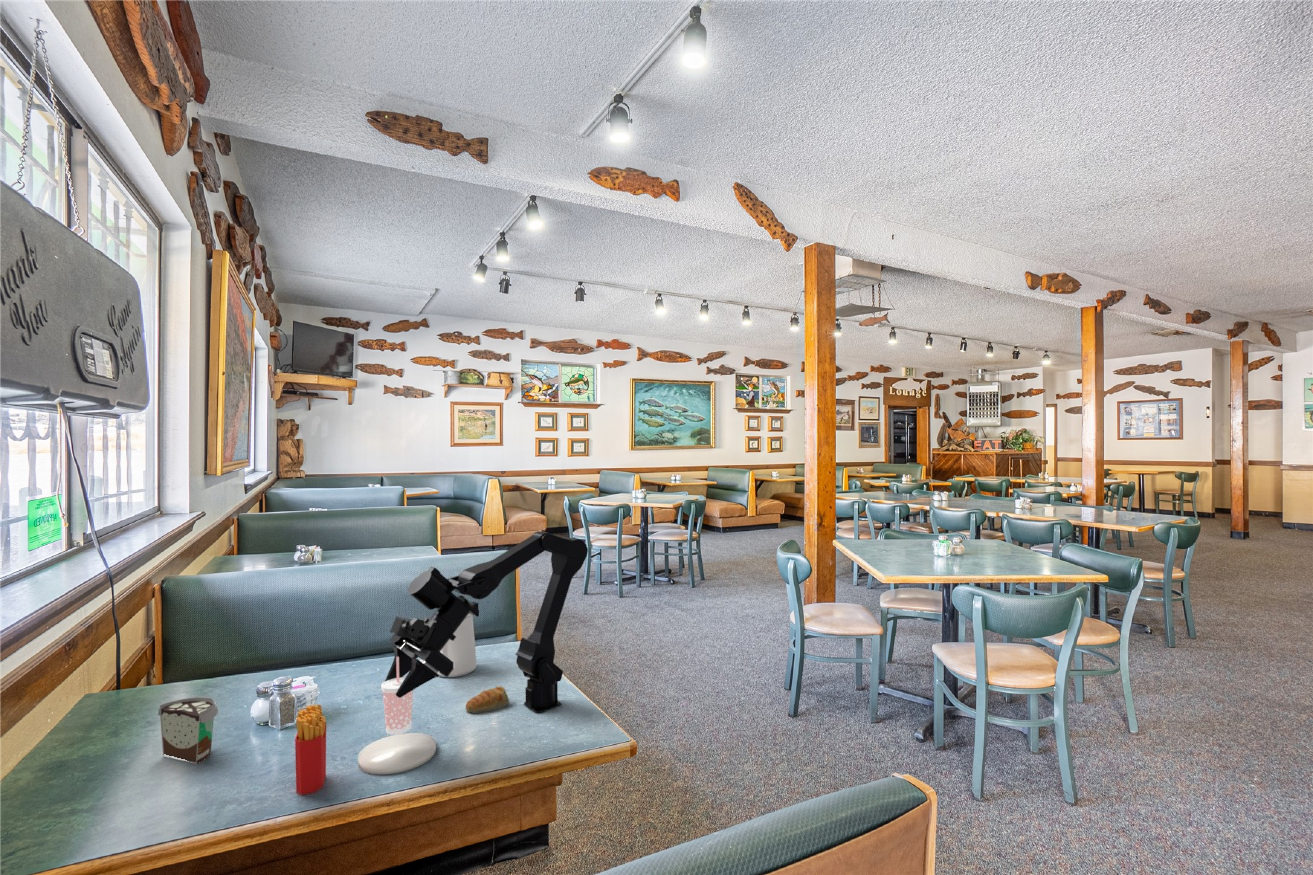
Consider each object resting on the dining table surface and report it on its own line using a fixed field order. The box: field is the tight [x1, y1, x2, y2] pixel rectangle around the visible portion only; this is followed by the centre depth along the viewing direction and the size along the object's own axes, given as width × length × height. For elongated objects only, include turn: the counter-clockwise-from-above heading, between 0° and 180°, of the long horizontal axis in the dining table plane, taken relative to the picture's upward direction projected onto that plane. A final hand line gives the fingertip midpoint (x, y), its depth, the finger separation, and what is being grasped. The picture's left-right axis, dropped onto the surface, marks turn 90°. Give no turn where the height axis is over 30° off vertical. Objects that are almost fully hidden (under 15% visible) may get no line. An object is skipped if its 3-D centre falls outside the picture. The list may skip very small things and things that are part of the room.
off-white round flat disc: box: [357, 732, 437, 775], centre depth 121 cm, size 14×14×1 cm
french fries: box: [294, 703, 327, 796], centre depth 112 cm, size 9×4×13 cm, turn 20°
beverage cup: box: [380, 657, 414, 736], centre depth 121 cm, size 6×6×14 cm
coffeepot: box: [437, 596, 477, 678], centre depth 168 cm, size 11×25×19 cm, turn 6°
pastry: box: [465, 686, 510, 714], centre depth 144 cm, size 9×7×4 cm
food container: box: [157, 696, 219, 765], centre depth 123 cm, size 12×6×10 cm, turn 71°
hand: (391, 691), depth 120 cm, fingers closed on beverage cup, 6 cm apart
